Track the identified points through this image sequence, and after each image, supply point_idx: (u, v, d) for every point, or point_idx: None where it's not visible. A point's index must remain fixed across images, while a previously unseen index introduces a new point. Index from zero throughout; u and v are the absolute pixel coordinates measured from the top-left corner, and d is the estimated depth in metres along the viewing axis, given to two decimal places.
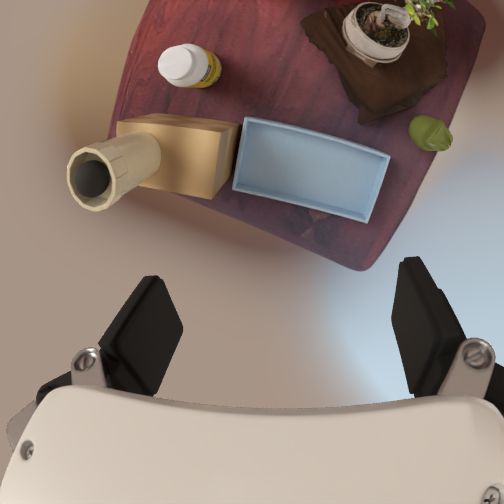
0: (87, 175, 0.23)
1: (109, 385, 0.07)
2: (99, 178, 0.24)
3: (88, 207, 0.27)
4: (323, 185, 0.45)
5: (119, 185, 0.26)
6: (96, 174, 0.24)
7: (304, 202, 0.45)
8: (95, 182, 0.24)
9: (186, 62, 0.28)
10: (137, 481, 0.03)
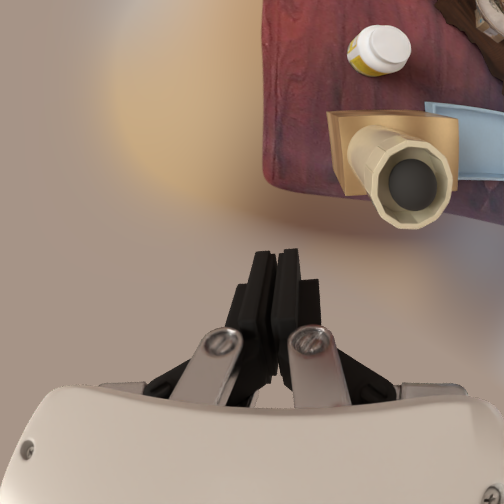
0: (429, 178, 0.16)
1: (228, 387, 0.06)
2: (436, 180, 0.17)
3: (408, 226, 0.20)
4: (492, 157, 0.33)
5: None
6: (434, 175, 0.17)
7: (487, 176, 0.33)
8: (436, 186, 0.17)
9: (405, 44, 0.20)
10: (137, 481, 0.03)
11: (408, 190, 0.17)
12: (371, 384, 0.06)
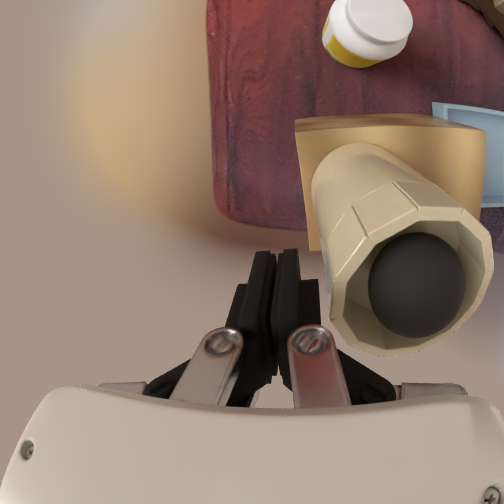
0: (453, 285, 0.07)
1: (228, 387, 0.06)
2: (464, 280, 0.08)
3: (398, 351, 0.11)
4: None
5: None
6: (462, 273, 0.08)
7: None
8: (463, 294, 0.08)
9: (402, 13, 0.11)
10: (137, 481, 0.03)
11: (404, 314, 0.08)
12: (371, 384, 0.06)
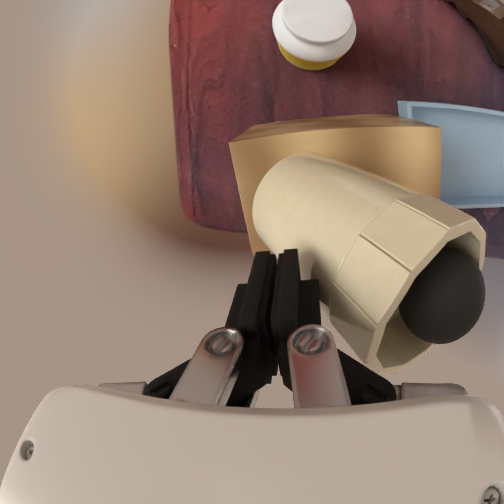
0: None
1: (228, 387, 0.06)
2: None
3: (412, 361, 0.10)
4: (494, 174, 0.24)
5: None
6: None
7: (486, 202, 0.25)
8: None
9: (341, 10, 0.12)
10: (137, 481, 0.03)
11: (471, 326, 0.08)
12: (371, 384, 0.06)
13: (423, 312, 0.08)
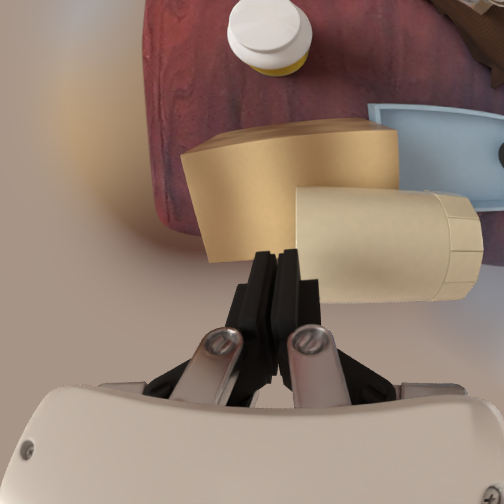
0: None
1: (228, 387, 0.06)
2: None
3: None
4: (475, 177, 0.25)
5: None
6: None
7: None
8: None
9: (288, 15, 0.13)
10: (137, 481, 0.03)
11: (500, 158, 0.22)
12: (371, 384, 0.06)
13: None
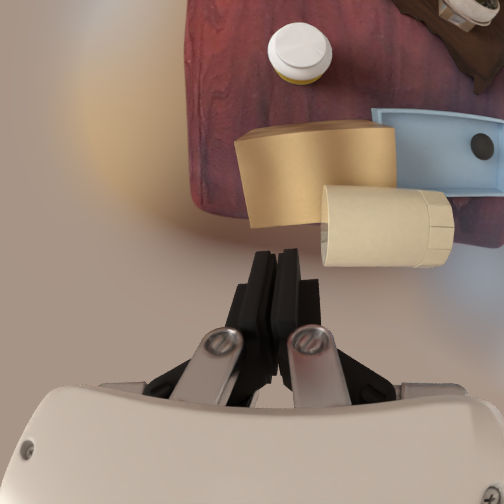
0: (471, 142, 0.28)
1: (229, 387, 0.06)
2: (476, 143, 0.27)
3: None
4: (461, 168, 0.31)
5: None
6: (474, 141, 0.27)
7: (453, 192, 0.32)
8: (474, 146, 0.27)
9: (318, 42, 0.19)
10: (137, 481, 0.03)
11: None
12: (371, 384, 0.06)
13: None
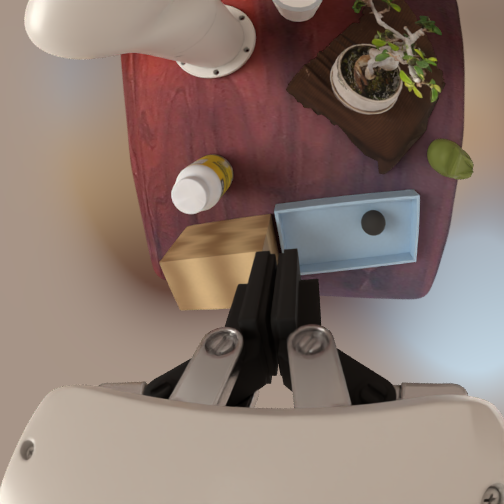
0: None
1: (228, 387, 0.06)
2: None
3: None
4: (366, 241, 0.45)
5: None
6: None
7: (354, 265, 0.45)
8: None
9: (200, 193, 0.33)
10: (137, 481, 0.03)
11: None
12: (371, 384, 0.06)
13: (385, 221, 0.40)
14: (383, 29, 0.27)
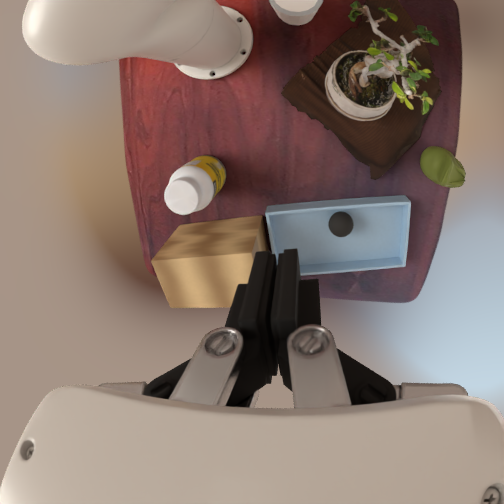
0: None
1: (228, 387, 0.06)
2: None
3: None
4: (356, 245, 0.46)
5: None
6: None
7: (344, 268, 0.46)
8: None
9: (192, 195, 0.34)
10: (137, 481, 0.03)
11: (346, 234, 0.41)
12: (371, 384, 0.06)
13: (337, 224, 0.41)
14: None
